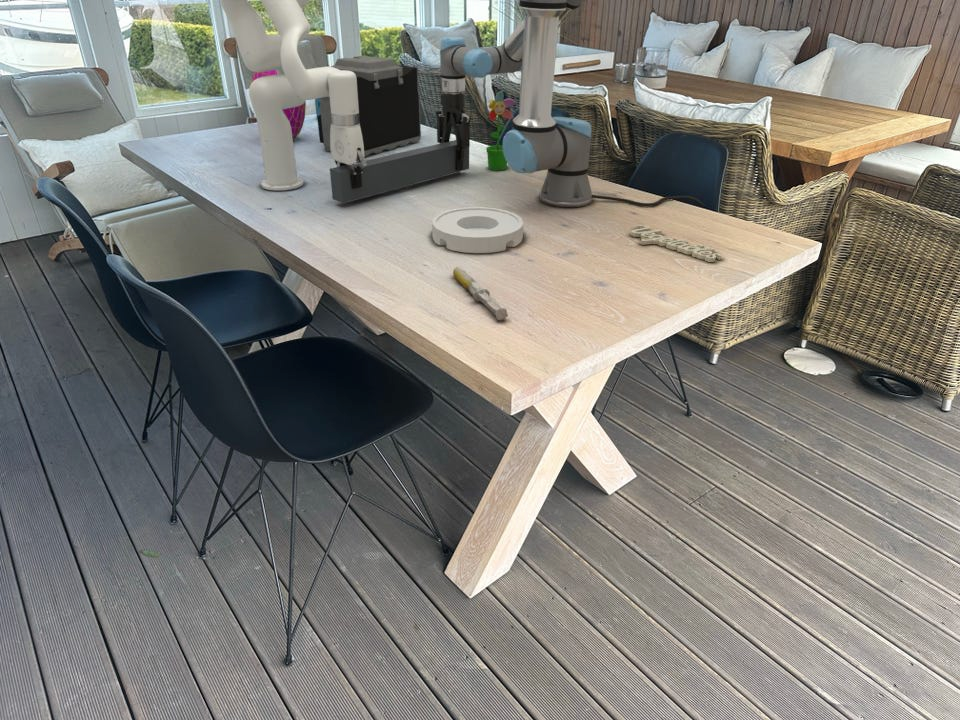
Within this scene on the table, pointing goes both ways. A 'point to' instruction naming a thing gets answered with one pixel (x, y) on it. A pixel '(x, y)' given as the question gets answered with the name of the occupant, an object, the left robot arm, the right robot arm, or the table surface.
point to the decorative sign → (674, 243)
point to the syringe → (479, 293)
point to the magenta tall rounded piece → (292, 114)
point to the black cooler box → (380, 104)
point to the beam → (397, 171)
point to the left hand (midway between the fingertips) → (350, 185)
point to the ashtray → (477, 229)
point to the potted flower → (496, 151)
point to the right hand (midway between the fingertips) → (453, 167)
